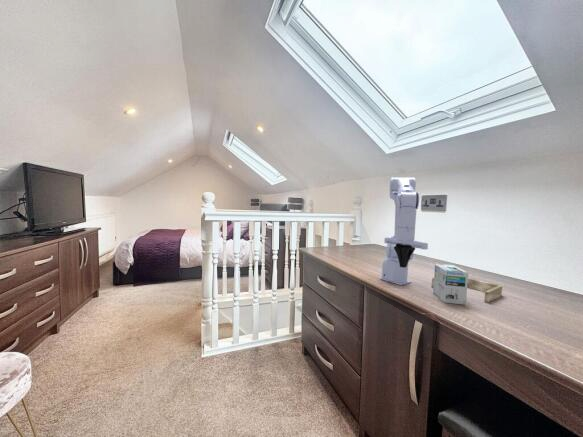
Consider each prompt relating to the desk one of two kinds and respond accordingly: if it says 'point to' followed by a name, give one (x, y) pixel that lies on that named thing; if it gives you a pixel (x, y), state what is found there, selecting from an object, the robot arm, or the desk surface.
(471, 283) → the wooden frame
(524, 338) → the desk surface
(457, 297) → the light bulb box
